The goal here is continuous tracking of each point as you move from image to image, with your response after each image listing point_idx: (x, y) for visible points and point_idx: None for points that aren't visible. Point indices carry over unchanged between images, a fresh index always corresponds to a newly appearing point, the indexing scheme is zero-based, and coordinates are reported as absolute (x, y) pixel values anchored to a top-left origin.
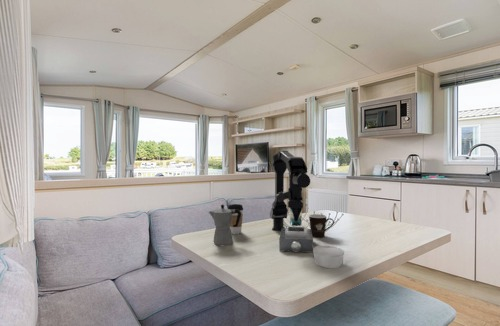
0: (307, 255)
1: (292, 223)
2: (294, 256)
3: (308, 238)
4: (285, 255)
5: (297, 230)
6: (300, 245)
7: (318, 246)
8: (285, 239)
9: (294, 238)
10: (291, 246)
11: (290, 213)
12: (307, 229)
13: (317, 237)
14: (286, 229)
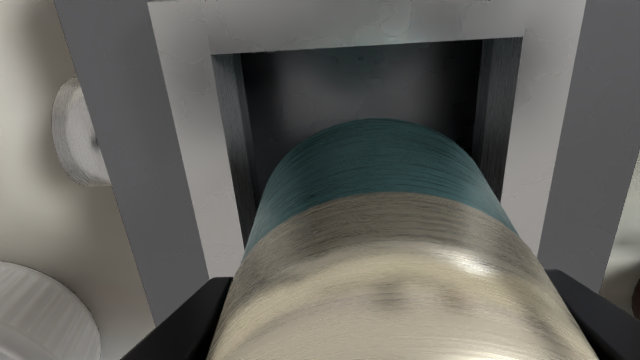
0: (109, 204)
1: (269, 190)
2: (33, 99)
3: (179, 291)
4: (14, 6)
5: (485, 171)
6: (91, 186)
7: (6, 352)
8: (67, 11)
9: (115, 143)
10: (68, 84)
11: (295, 323)
12: (590, 282)
13: (636, 286)
14: (317, 13)
